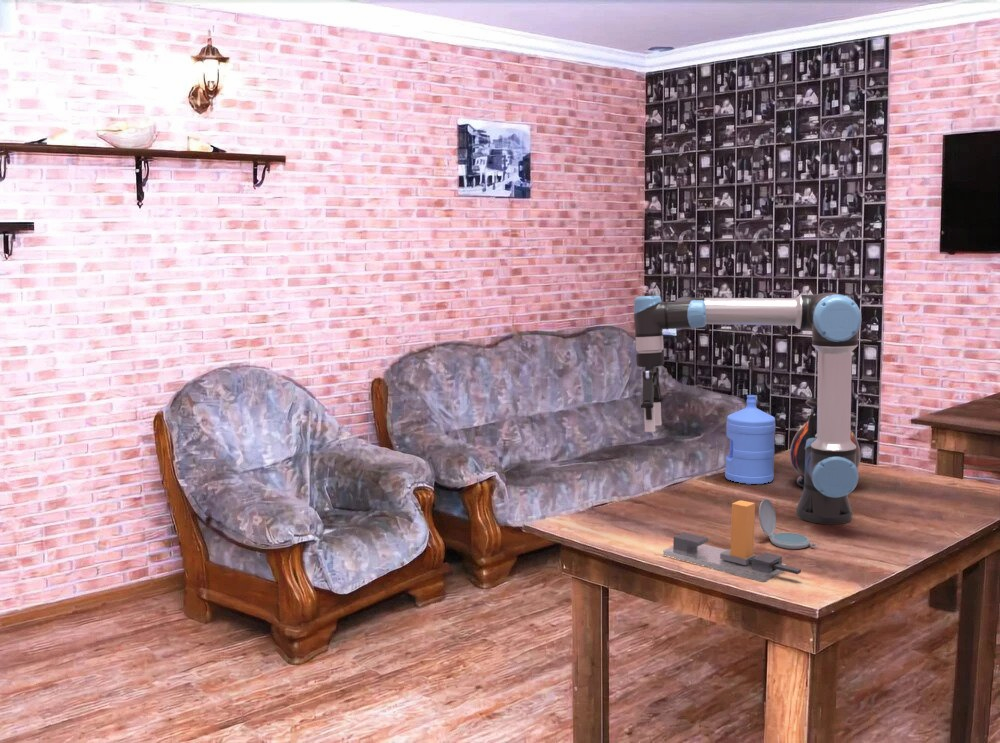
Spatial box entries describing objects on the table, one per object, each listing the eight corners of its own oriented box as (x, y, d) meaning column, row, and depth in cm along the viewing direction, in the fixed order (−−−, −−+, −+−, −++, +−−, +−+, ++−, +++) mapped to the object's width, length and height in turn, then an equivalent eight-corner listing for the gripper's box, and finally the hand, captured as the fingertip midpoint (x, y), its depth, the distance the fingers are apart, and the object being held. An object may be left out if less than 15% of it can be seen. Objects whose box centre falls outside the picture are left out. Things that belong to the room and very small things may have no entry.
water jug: (781, 478, 327) (785, 395, 323) (759, 487, 316) (762, 401, 312) (739, 471, 338) (741, 390, 334) (716, 479, 326) (718, 396, 322)
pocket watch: (770, 495, 267) (825, 504, 258) (769, 534, 269) (823, 544, 260) (755, 503, 259) (811, 513, 250) (754, 543, 261) (810, 554, 252)
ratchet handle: (804, 571, 234) (806, 512, 232) (794, 577, 230) (796, 517, 228) (730, 553, 247) (732, 497, 245) (720, 558, 243) (721, 502, 241)
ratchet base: (786, 570, 240) (786, 552, 239) (764, 582, 232) (764, 563, 231) (686, 545, 259) (687, 529, 258) (663, 555, 251) (663, 538, 250)
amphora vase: (810, 475, 332) (814, 392, 328) (871, 487, 316) (875, 400, 312) (775, 486, 318) (778, 400, 314) (837, 499, 302) (841, 409, 298)
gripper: (642, 350, 285) (646, 423, 287) (629, 355, 262) (633, 434, 263) (668, 348, 283) (672, 422, 285) (657, 353, 259) (661, 434, 261)
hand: (653, 428), depth 274 cm, fingers open, 13 cm apart
